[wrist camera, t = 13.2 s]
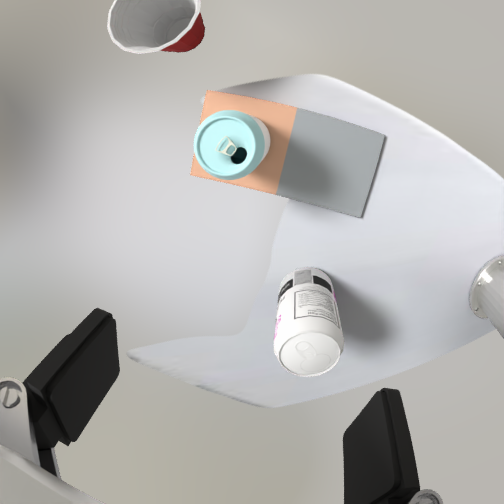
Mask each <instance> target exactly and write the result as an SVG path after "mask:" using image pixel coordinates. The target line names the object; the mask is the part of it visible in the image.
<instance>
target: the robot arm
mask: <svg viewBox="0 0 504 504" xmlns="http://www.w3.org/2000/svg"><path fill="white" fill-rule="evenodd" d="M469 302H470V307H471V309H472V311H473V312H474V313H475V315H476V316H478V317H480V318H489V319H490V321H491V322H492V323H493V325H494V326H495V327H496V329H497V330H498V331H499V333H500V334H501V335H502V337H503V338H504V255H503V256H498V257H496V258H494V259H492V260H491V261H489V262H488V263H487V264H486V265H485V266H484V267H483V268H482V269H481V270H480V272H479V273H478V275H477V276H476V278H475V280H474V282H473V284H472V287H471V291H470V297H469ZM119 371H120V367H119V357H118V346H117V332H116V321H115V319H113V317H112V314H111V313H108V312H106V311H104V310H101V309H99V308H96V309H94V310H93V311H92V312H91V313H90V314H89V315H88V316H87V317H86V318H85V319H84V320H83V321H82V322H81V323H80V324H79V325H78V326H77V328H75V330H74V331H73V332H72V333H71V334H69V335H66V336H65V337H64V338H63V339H62V340H61V341H60V342H59V343H58V344H57V346H55V348H54V349H53V350H52V351H51V352H50V353H49V354H48V355H47V356H46V357H45V358H44V359H43V360H42V361H41V363H40V364H39V365H38V366H37V367H36V368H35V369H34V370H33V371H32V373H31V374H30V375H29V376H28V377H27V378H26V379H25V381H24V382H23V383H22V382H20V381H19V380H18V379H16V378H12V377H4V378H1V379H0V504H105V503H103V502H101V501H99V500H97V499H95V498H93V497H91V496H89V495H87V494H86V493H84V492H82V491H80V490H78V489H76V488H74V487H73V486H71V485H69V484H67V483H66V482H64V481H62V480H61V476H60V472H59V468H58V464H57V459H56V455H55V450H54V447H55V445H56V444H57V442H58V441H60V442H62V443H64V444H65V445H67V446H69V444H70V442H71V441H72V442H75V441H76V440H77V439H78V437H79V436H80V434H81V433H82V431H83V430H84V428H85V426H86V425H87V423H88V422H89V420H90V419H91V417H92V415H93V414H94V412H95V411H96V409H97V408H98V406H99V405H100V403H101V402H102V400H103V398H104V397H105V395H106V394H107V392H108V391H109V389H110V388H111V386H112V385H113V383H114V382H115V380H116V379H117V377H118V375H119ZM343 454H344V504H443V501H442V499H441V497H440V495H439V494H438V493H436V492H435V491H433V490H428V489H424V490H421V491H420V485H419V478H418V473H417V467H416V461H415V456H414V451H413V446H412V441H411V436H410V432H409V428H408V424H407V419H406V415H405V411H404V407H403V403H402V399H401V395H400V392H399V390H396V389H388V388H383V389H381V390H380V391H377V392H376V393H375V394H374V396H373V397H372V398H371V400H370V401H369V402H368V404H367V405H366V406H365V407H364V409H363V410H362V411H361V413H360V414H359V415H358V416H357V417H356V419H355V420H354V421H353V422H352V424H351V425H350V426H349V427H348V428H347V430H346V431H345V433H344V436H343Z"/></svg>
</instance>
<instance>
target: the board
mask: <svg viewBox="0 0 504 504" xmlns="http://www.w3.org/2000/svg"><path fill="white" fill-rule="evenodd" d="M223 110H235V111H240V112H243V113H246V114H249V115H252V116H254V117H256V118H258V119H259V120H261V121H262V122H263V123H264V124H265V126H266V127H267V129H268V131H269V134H270V148H269V151H268V153H267V155H266V156H265V158H264V159H263V160H262V161H261V163H260V164H259V165H258V166H257V167H256V168H255V170H253V171H252V172H251V173H250V174H248V175H247V176H245V177H242V178H239V179H235V180H223V179H219V178H216V177H214V176H212V175H210V174H209V173H207V172H206V171H205V170H204V169H203V168H202V167H201V166H200V164H199V163H198V161H197V159H196V156H195V152H194V156H193V162H192V168H191V174H190V175H192V176H197V177H201V178H206V179H211V180H215V181H220V182H224V183H229V184H233V185H237V186H242V187H246V188H250V189H255V190H258V191H263V192H267V193H271V194H275V195H279V196H283V197H286V198H290V199H294V200H298V201H302V202H305V203H309V204H313V205H316V206H320V207H324V208H327V209H331V210H334V211H338V212H341V213H345V214H348V215H352V216H355V217H358V218H360V217H361V214H362V211H363V208H364V205H365V202H366V199H367V196H368V192H369V189H370V186H371V183H372V179H373V176H374V173H375V169H376V166H377V162H378V159H379V155H380V152H381V148H382V144H383V141H384V137H385V135H384V134H381V133H378V132H375V131H373V130H370V129H367V128H364V127H361V126H358V125H355V124H352V123H349V122H346V121H343V120H339V119H336V118H333V117H329V116H326V115H322V114H319V113H315V112H312V111H308V110H304V109H300V108H296V107H292V106H288V105H284V104H279V103H275V102H270V101H266V100H261V99H256V98H251V97H246V96H240V95H234V94H229V93H222V92H216V91H208V90H207V92H206V96H205V101H204V105H203V110H202V115H201V120H200V125H201V123H202V122H203V121H204V120H205V119H206V118H207V117H209V116H210V115H212V114H214V113H216V112H219V111H223ZM200 125H199V126H200Z"/></svg>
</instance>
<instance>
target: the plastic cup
mask: <svg viewBox="0 0 504 504" xmlns="http://www.w3.org/2000/svg"><path fill="white" fill-rule="evenodd" d="M200 5H201V0H115V1H114V3H113V4H112V6H111V8H110V10H109V15H108V24H107V28H108V31H109V34H110V36H111V39H112V41H113V42H114V43H115V44H116V45H118V46H119V47H120V48H121V49H122V50H124V51H128V52H133V53H137V54H143V53H149V52H155V51H168V52H172V51H173V52H186V51H189V50H192V49H194V48H195V47H196V46H198V45H199V44H200V43H201V41H202V39H203V37H204V32H205V27H204V24H203V19H202V17H201V13H200Z"/></svg>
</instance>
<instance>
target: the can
mask: <svg viewBox="0 0 504 504" xmlns="http://www.w3.org/2000/svg"><path fill="white" fill-rule="evenodd" d="M269 148H270V134H269V131H268V129H267V127H266V126H265V124H264V123H263V122H262V121H261V120H259V119H258V118H256V117H254V116H252V115H249V114H246V113H243V112H240V111H235V110H223V111H219V112H216V113H214V114H212V115H210V116H209V117H207V118H206V119H205V120H204V121H203V122H202V123H201V125H200V126H199V128H198V130H197V132H196V135H195V138H194V152H195V156H196V159H197V161H198V163H199V164H200V166H201V167H202V168H203V169H204V170H205V171H206V172H207V173H209V174H210V175H212V176H214V177H216V178H219V179H223V180H235V179H239V178H242V177H245V176H247V175H248V174H250V173H251V172H252V171H253V170H255V168H256V167H257V166H258V165H259V164H260V163H261V161H262V160H263V159H264V158H265V156H266V155H267V153H268V151H269Z"/></svg>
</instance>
